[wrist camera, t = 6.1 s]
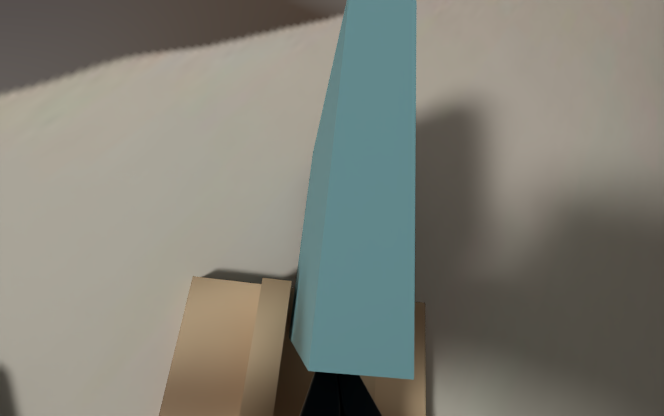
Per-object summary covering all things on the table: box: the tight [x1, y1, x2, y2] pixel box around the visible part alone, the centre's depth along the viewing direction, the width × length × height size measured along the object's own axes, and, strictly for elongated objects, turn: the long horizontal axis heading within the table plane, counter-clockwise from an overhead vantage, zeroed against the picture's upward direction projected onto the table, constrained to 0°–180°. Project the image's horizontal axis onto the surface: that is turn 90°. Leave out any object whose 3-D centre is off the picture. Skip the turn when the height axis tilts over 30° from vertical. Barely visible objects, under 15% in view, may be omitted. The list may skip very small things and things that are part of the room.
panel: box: [289, 0, 416, 380], centre depth 12 cm, size 10×2×10 cm, turn 174°
